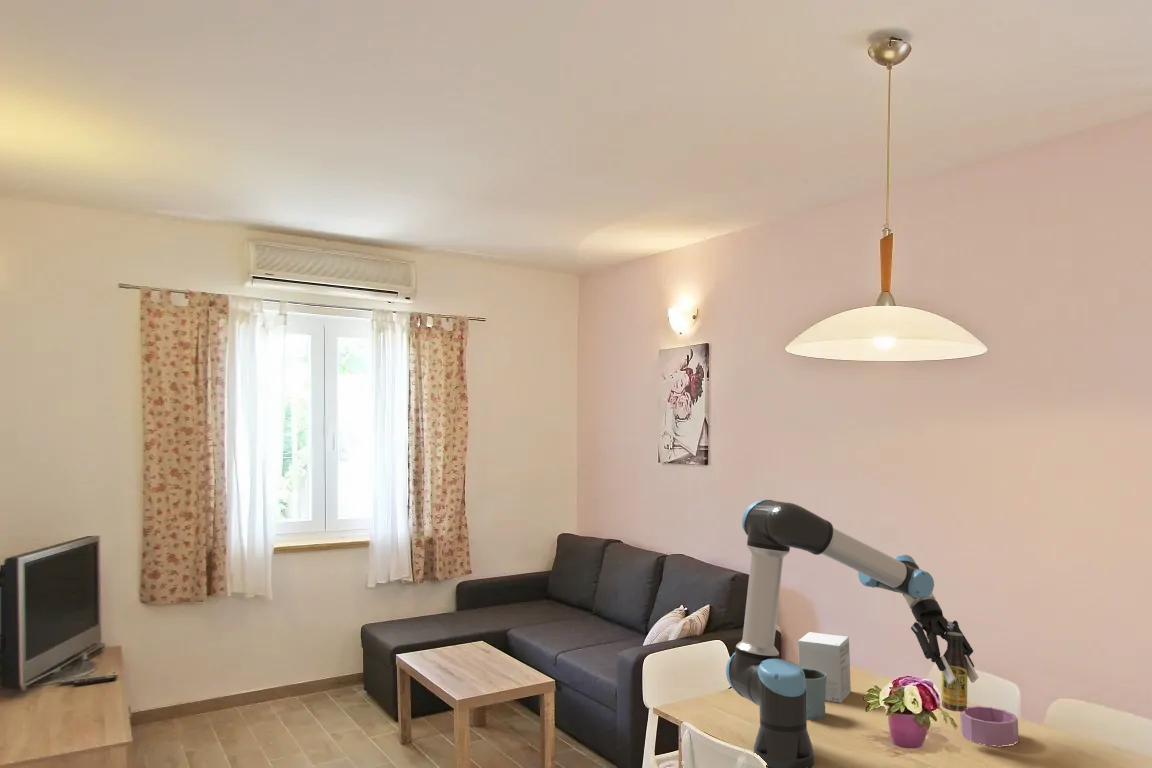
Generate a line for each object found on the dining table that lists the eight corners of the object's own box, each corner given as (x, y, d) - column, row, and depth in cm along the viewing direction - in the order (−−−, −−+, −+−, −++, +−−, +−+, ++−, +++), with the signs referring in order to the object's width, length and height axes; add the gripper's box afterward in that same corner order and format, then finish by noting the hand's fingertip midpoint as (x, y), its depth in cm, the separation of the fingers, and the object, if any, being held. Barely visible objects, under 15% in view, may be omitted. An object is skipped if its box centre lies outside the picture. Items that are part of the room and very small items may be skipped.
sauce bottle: (941, 710, 212) (938, 634, 213) (942, 703, 217) (940, 629, 219) (968, 714, 209) (965, 637, 210) (969, 707, 214) (966, 632, 215)
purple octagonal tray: (1022, 749, 208) (1021, 725, 208) (965, 743, 212) (964, 720, 212) (1012, 730, 220) (1011, 708, 221) (958, 725, 225) (957, 704, 225)
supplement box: (851, 691, 255) (850, 636, 257) (841, 703, 244) (839, 645, 245) (810, 685, 262) (808, 631, 264) (798, 696, 251) (797, 640, 252)
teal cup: (823, 709, 239) (822, 668, 240) (831, 721, 229) (829, 678, 230) (789, 708, 240) (788, 668, 241) (795, 720, 230) (794, 678, 231)
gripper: (947, 611, 231) (988, 685, 214) (888, 613, 228) (925, 689, 211) (959, 596, 227) (1002, 671, 209) (898, 598, 223) (937, 675, 206)
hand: (963, 680), depth 210 cm, fingers closed on sauce bottle, 6 cm apart
